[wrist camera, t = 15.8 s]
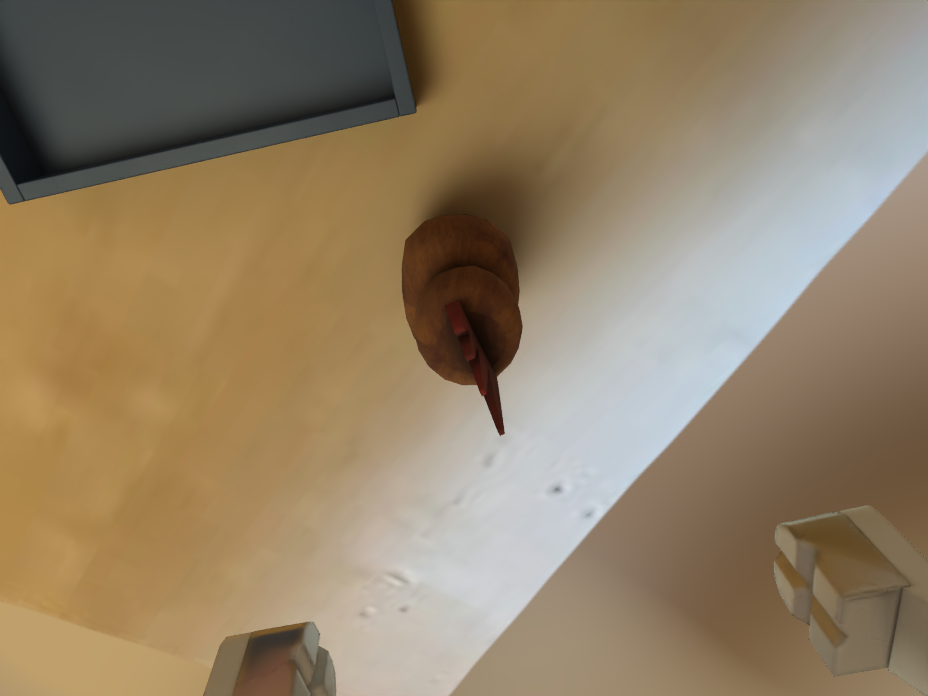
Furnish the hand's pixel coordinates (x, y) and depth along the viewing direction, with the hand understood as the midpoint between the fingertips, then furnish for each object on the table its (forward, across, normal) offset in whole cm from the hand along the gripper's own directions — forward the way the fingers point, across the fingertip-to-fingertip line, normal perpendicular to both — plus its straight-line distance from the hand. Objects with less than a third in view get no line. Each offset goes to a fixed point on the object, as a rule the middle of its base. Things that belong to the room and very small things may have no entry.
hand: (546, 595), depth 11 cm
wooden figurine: (+26, +1, +2) cm, 26 cm away
